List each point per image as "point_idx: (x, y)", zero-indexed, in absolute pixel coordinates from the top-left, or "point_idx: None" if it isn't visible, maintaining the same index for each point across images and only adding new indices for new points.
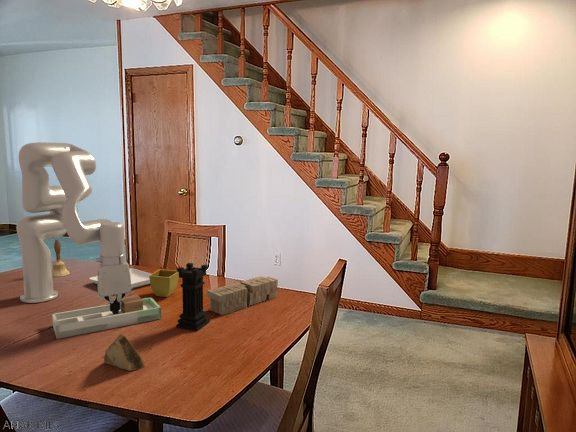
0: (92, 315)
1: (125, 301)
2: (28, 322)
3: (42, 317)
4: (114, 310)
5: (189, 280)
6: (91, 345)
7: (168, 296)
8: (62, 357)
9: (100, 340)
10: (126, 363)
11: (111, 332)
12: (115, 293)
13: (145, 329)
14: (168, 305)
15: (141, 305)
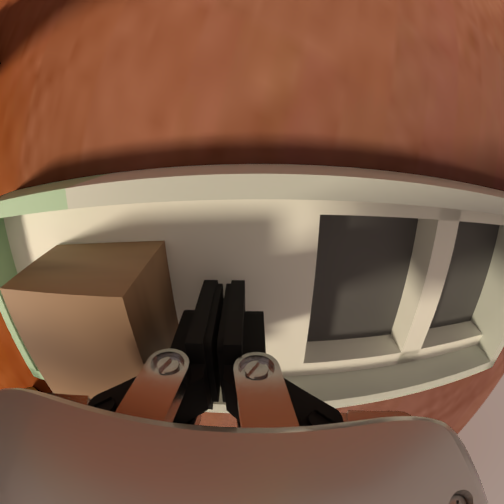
0: (349, 356)
1: (117, 347)
2: (479, 375)
3: (443, 401)
4: (236, 297)
5: None
6: (417, 13)
7: (30, 387)
8: (495, 16)
9: (376, 30)
10: None
11: (298, 96)
12: (195, 441)
13: (97, 61)
14: None
15: (31, 268)
